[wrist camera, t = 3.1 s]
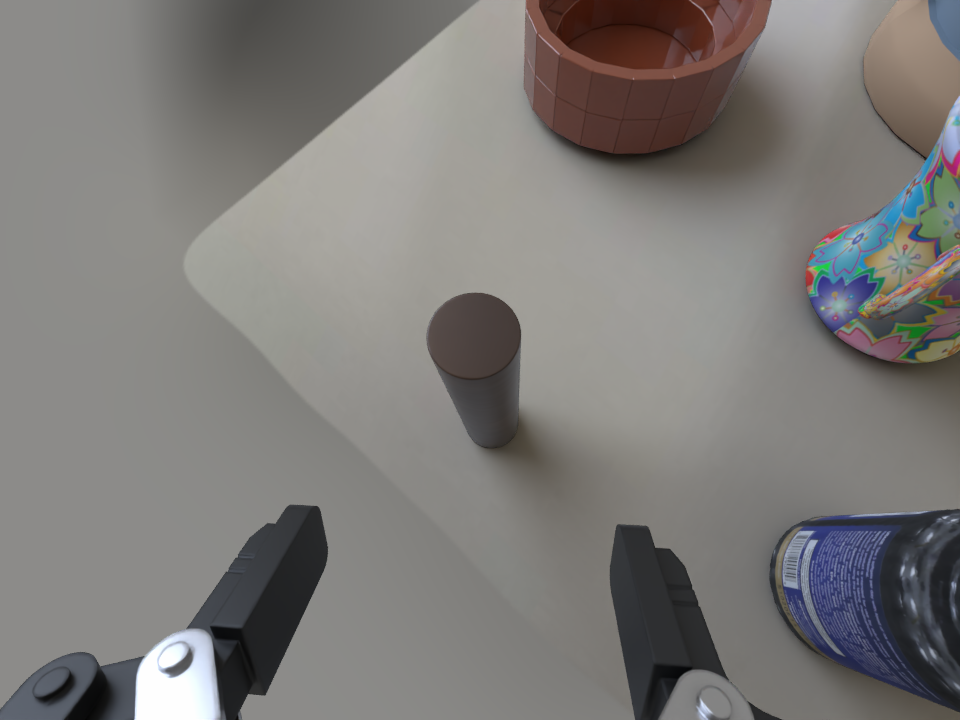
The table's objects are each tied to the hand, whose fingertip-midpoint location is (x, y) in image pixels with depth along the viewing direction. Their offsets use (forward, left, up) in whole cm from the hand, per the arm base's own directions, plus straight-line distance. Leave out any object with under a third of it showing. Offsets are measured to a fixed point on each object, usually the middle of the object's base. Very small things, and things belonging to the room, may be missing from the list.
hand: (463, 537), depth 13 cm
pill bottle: (+16, -1, -11) cm, 20 cm away
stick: (0, +6, -11) cm, 13 cm away
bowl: (+8, +30, -11) cm, 33 cm away
